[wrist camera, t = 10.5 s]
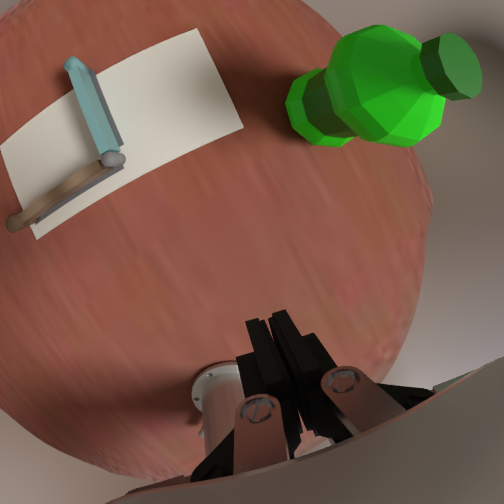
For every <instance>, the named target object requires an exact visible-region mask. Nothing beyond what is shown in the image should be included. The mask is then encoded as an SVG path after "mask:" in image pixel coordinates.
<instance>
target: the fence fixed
mask: <svg viewBox="0 0 504 504" xmlns="http://www.w3.org/2000/svg"><path fill="white" fill-rule="evenodd" d="M113 169H114V168H113V167H106V166H104V165H103V164H102V162H101V160H95V161H94V162H92V163H91V164H89V165H87V166H86V167H84V168H83V169H81V170H79V171H78V172H76V173H75V174H73V175H72V176H70V177H69V178H67V179H66V180H64V181H63V182H61V183H60V184H59V185H57V186H56V187H54V188H53V189H51V190H50V191H49V192H47V193H46V194H44V195H43V196H42V197H40V198H39V199H38V200H36V201H35V202H34V203H32V204H31V205H30V206H28V207H27V208H26V209H25V210H23V211H22V212H20V213H17V214H15V215H12V216H9V217H8V218H7V220H6V228H7V230H8V231H9V232H11V233H14V232H16V231H18V230H21V229H23V228H25V227H27V226H30V225H32V224H34V223H37V222H38V221H39V219H40V216H41V215H43V214H44V213H46V212H47V211H49V210H50V209H51V208H53V207H54V206H56V205H57V204H59V203H60V202H62V201H63V200H65V199H66V198H68V197H69V196H71V195H72V194H74V193H75V192H77V191H78V190H80V189H81V188H83V187H85V186H86V185H88V184H89V183H91V182H93V181H94V180H96V179H97V178H99V177H101V176H102V175H104V174H106V173H108V172H109V171H111V170H113Z"/></svg>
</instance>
